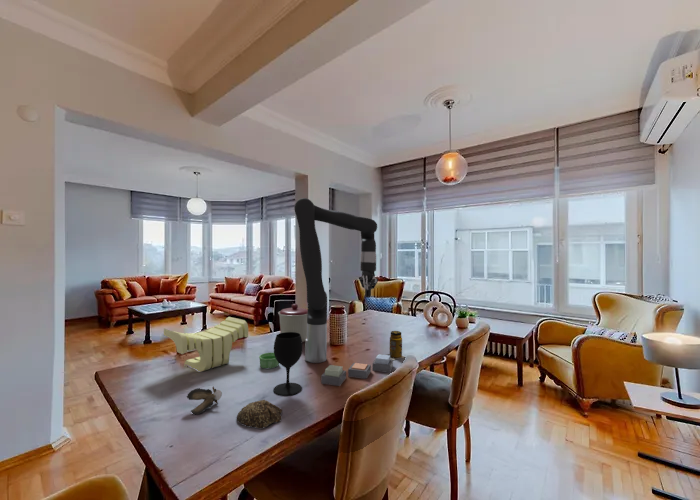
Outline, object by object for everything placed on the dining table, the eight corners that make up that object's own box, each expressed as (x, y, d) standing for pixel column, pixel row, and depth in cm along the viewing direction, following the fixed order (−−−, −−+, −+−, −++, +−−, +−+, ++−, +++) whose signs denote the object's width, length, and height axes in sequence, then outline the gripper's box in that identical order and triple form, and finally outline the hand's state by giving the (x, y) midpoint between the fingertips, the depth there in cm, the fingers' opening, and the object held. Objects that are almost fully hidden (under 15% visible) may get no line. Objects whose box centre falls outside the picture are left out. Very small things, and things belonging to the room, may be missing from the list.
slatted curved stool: (181, 380, 120) (182, 334, 120) (163, 371, 130) (163, 328, 130) (247, 359, 145) (248, 321, 145) (228, 352, 154) (228, 316, 154)
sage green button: (324, 377, 120) (325, 369, 120) (329, 372, 125) (329, 364, 125) (338, 379, 119) (338, 371, 119) (342, 373, 124) (342, 366, 124)
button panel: (315, 378, 123) (315, 371, 123) (384, 362, 143) (384, 355, 143) (328, 389, 114) (328, 381, 114) (400, 369, 134) (400, 362, 134)
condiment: (405, 357, 150) (406, 332, 150) (392, 360, 145) (392, 335, 145) (395, 353, 156) (395, 329, 156) (382, 356, 151) (382, 331, 151)
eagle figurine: (207, 395, 106) (182, 400, 99) (217, 379, 105) (192, 383, 98) (217, 413, 102) (191, 420, 95) (227, 397, 101) (202, 403, 94)
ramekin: (272, 370, 132) (272, 360, 132) (254, 367, 135) (254, 357, 135) (283, 363, 140) (283, 353, 140) (266, 361, 143) (266, 351, 143)
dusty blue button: (375, 365, 134) (375, 358, 134) (378, 360, 139) (378, 354, 139) (388, 366, 132) (388, 359, 132) (390, 362, 137) (390, 355, 137)
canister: (300, 335, 186) (300, 300, 186) (316, 342, 172) (317, 304, 172) (272, 340, 175) (272, 303, 175) (287, 348, 161) (288, 308, 161)
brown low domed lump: (230, 420, 93) (231, 404, 93) (263, 404, 104) (263, 389, 104) (259, 435, 86) (259, 417, 86) (291, 415, 96) (291, 399, 96)
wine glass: (273, 397, 107) (274, 340, 107) (272, 385, 117) (273, 332, 117) (303, 394, 110) (304, 338, 110) (300, 382, 120) (301, 330, 120)
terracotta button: (351, 374, 127) (351, 367, 127) (355, 370, 132) (355, 362, 132) (364, 376, 125) (364, 369, 125) (367, 371, 131) (367, 364, 131)
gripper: (354, 260, 152) (353, 296, 152) (370, 261, 141) (370, 299, 141) (366, 260, 156) (366, 295, 156) (383, 261, 145) (382, 298, 145)
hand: (367, 297), depth 148 cm, fingers closed
